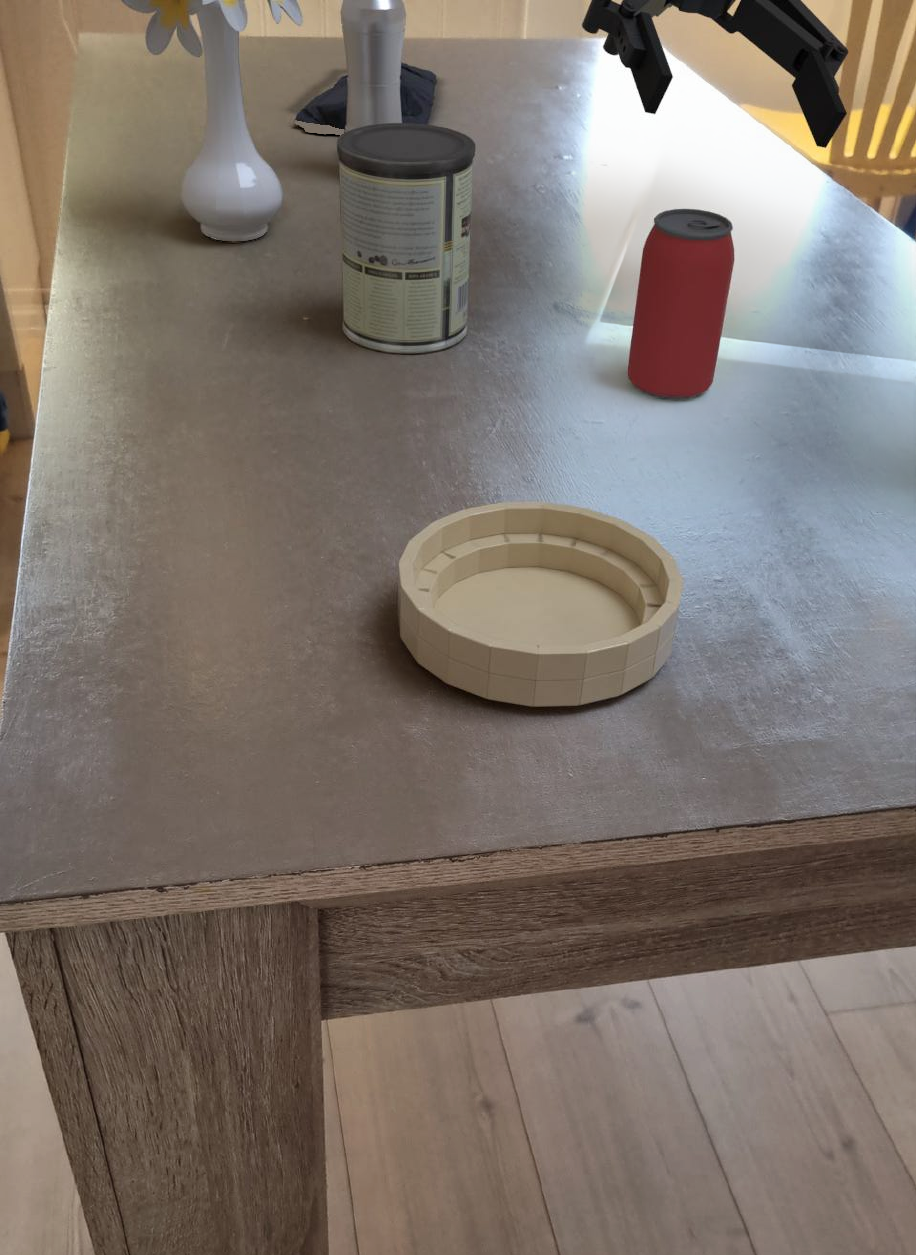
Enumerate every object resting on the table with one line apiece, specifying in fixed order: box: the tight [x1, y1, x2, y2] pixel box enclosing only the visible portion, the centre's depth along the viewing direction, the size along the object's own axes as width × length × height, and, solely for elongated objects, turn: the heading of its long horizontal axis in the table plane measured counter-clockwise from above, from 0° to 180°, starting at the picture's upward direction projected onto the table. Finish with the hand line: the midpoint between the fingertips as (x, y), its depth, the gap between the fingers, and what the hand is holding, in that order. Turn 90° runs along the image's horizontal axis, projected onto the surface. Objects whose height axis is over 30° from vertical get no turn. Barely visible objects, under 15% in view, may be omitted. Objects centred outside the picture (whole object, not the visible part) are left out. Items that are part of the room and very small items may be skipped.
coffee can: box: [336, 123, 476, 355], centre depth 102 cm, size 10×10×14 cm
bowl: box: [397, 501, 685, 708], centre depth 73 cm, size 16×16×4 cm
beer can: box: [626, 208, 735, 400], centre depth 96 cm, size 7×7×12 cm
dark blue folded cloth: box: [294, 61, 438, 130], centre depth 152 cm, size 15×22×5 cm
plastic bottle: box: [339, 0, 407, 133], centre depth 129 cm, size 6×7×20 cm
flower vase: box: [120, 0, 304, 243], centre depth 113 cm, size 13×18×25 cm
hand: (747, 113), depth 88 cm, fingers open, 13 cm apart
